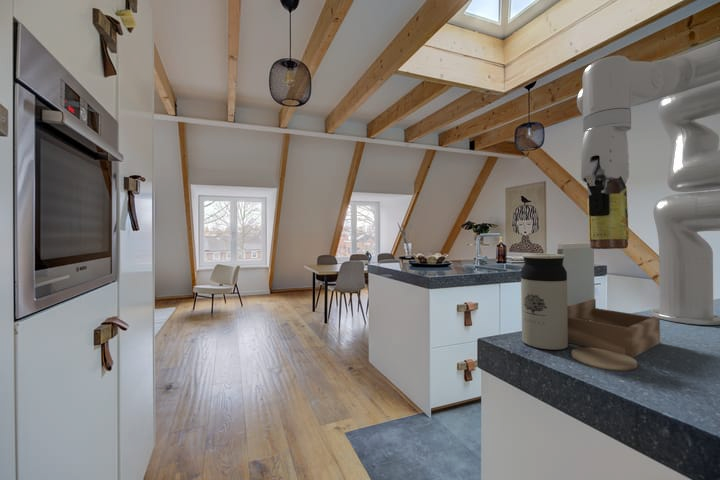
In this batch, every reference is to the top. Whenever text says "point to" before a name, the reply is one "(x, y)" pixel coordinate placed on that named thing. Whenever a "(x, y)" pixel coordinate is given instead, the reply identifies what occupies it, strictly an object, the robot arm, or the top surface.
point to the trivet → (604, 359)
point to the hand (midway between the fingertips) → (607, 215)
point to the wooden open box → (611, 329)
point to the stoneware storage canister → (544, 301)
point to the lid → (578, 271)
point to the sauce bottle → (611, 220)
